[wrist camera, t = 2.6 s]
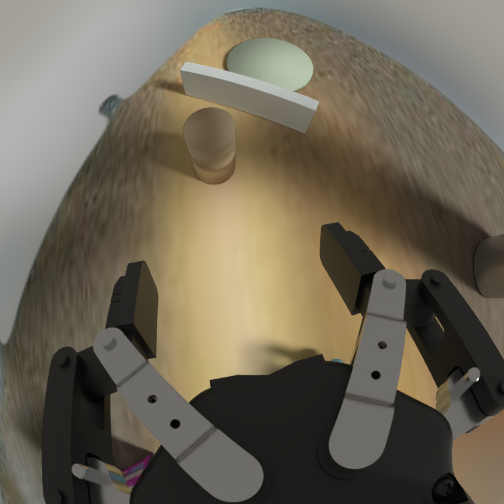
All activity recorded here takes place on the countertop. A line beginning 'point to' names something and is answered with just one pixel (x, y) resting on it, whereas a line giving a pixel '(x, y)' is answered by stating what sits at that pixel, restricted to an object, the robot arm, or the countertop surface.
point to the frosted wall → (249, 95)
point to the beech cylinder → (211, 144)
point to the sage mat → (271, 63)
